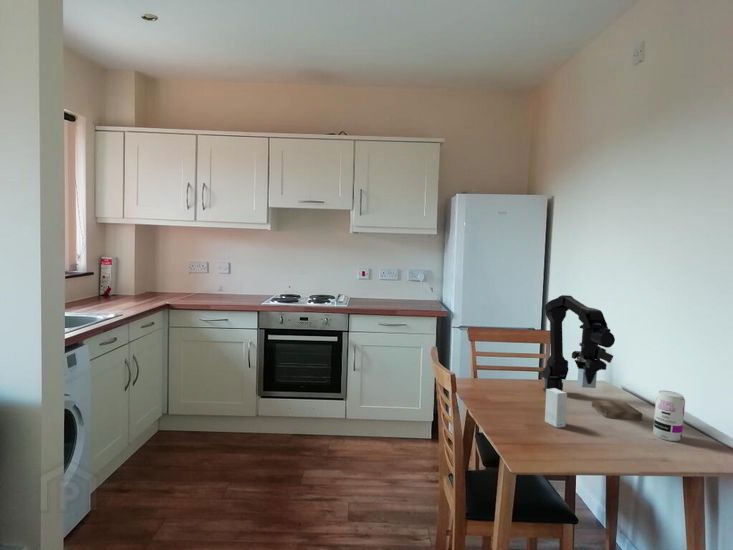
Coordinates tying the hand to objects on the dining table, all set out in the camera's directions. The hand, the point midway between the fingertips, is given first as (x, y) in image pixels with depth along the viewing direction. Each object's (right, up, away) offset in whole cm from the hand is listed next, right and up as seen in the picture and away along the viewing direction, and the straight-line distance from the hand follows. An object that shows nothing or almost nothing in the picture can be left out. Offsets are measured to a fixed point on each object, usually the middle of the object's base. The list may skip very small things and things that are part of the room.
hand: (586, 381), depth 182 cm
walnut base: (+11, -12, 0) cm, 16 cm away
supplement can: (+17, -14, -22) cm, 31 cm away
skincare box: (-19, -12, -16) cm, 27 cm away
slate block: (0, -2, 0) cm, 2 cm away
